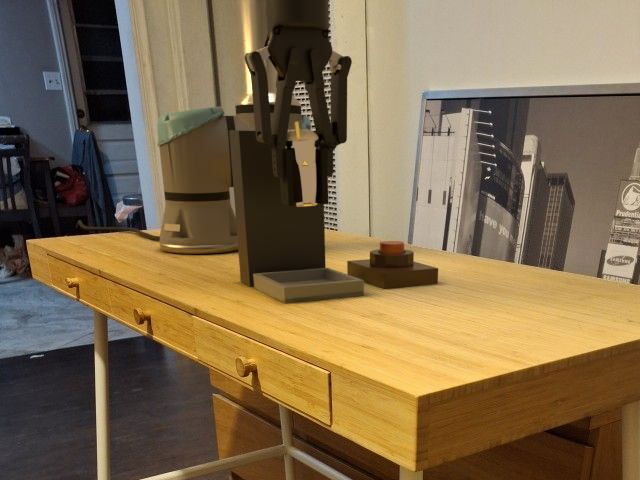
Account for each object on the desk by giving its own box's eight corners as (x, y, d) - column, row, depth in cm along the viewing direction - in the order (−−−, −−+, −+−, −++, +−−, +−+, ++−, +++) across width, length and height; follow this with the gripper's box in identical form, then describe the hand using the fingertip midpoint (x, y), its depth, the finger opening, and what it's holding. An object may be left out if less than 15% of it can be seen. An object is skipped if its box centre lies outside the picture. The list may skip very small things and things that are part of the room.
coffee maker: (240, 282, 111) (228, 130, 102) (315, 275, 116) (310, 130, 107) (283, 303, 98) (274, 131, 89) (365, 295, 103) (364, 131, 94)
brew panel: (347, 275, 117) (346, 248, 115) (397, 271, 120) (398, 244, 119) (384, 288, 107) (384, 259, 105) (438, 283, 111) (439, 255, 109)
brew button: (375, 254, 113) (375, 241, 112) (396, 252, 114) (396, 240, 114) (387, 257, 110) (387, 244, 109) (408, 255, 112) (408, 243, 111)
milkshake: (285, 208, 98) (277, 121, 93) (290, 204, 102) (284, 121, 98) (319, 207, 97) (314, 120, 93) (324, 203, 102) (318, 120, 98)
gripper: (237, -20, 83) (252, 209, 93) (375, -7, 90) (375, 203, 101) (216, -10, 89) (232, 204, 99) (348, 1, 96) (350, 199, 106)
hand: (304, 203), depth 100 cm, fingers closed on milkshake, 4 cm apart
